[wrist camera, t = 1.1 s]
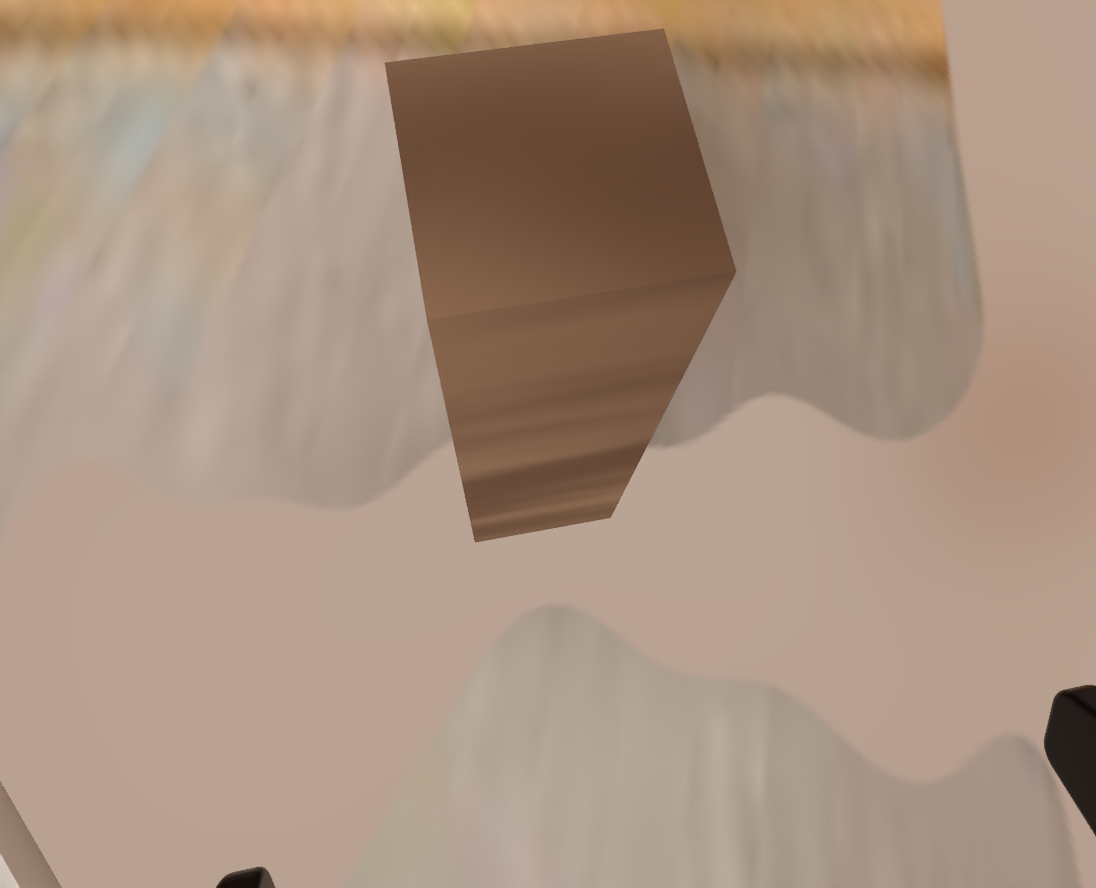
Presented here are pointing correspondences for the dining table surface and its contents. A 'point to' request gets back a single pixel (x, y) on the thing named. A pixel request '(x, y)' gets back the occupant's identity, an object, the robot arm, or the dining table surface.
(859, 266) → the dining table surface
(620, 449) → the walnut baton
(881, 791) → the dining table surface
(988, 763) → the dining table surface
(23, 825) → the board
